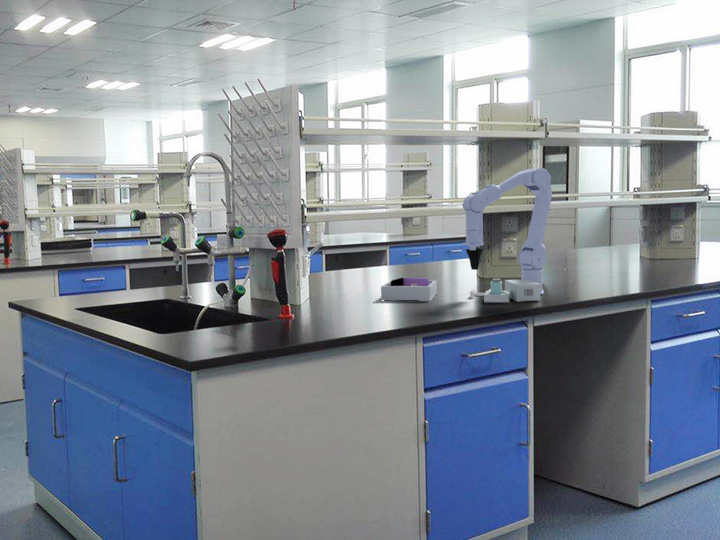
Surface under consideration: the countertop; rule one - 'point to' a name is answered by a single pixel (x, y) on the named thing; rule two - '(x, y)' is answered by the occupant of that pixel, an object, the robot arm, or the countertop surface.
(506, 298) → the port
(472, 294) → the holster
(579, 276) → the countertop surface
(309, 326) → the countertop surface
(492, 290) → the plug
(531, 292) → the skincare box
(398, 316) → the countertop surface
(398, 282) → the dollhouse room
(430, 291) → the holder corral
